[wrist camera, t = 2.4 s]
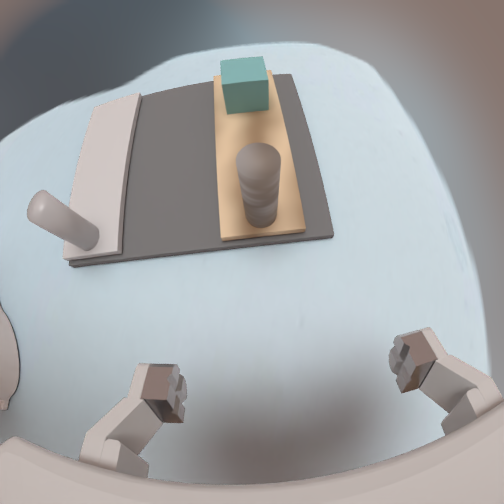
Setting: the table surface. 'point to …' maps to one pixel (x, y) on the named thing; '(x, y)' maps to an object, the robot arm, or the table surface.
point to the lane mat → (201, 177)
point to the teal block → (245, 85)
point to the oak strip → (228, 172)
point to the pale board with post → (94, 186)
